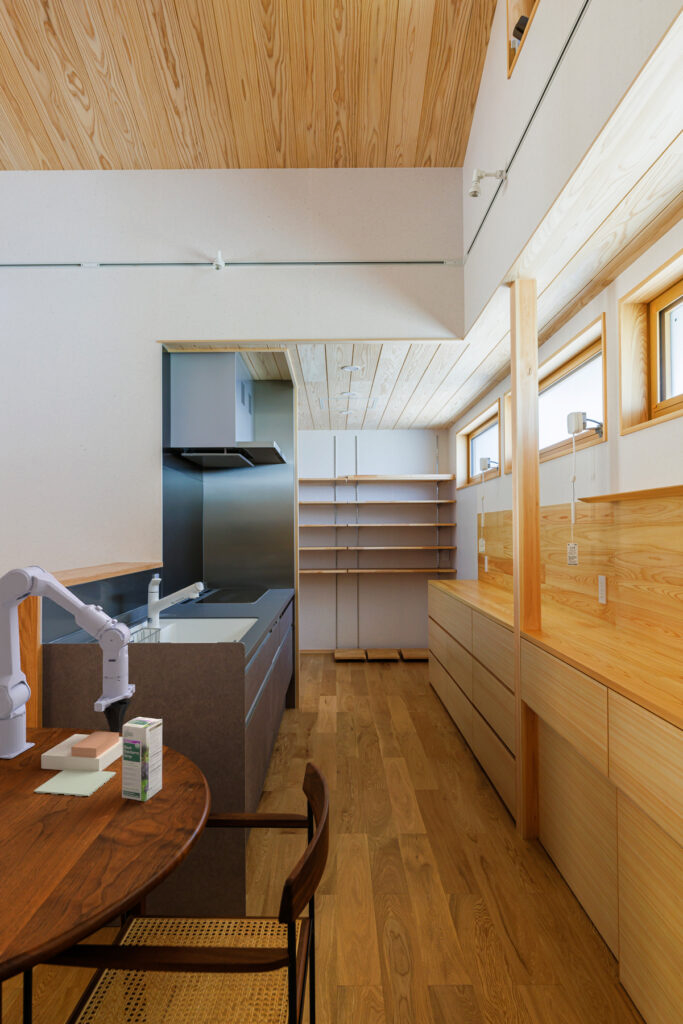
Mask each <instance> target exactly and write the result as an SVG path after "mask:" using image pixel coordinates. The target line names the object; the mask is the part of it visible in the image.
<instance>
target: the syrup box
mask: <svg viewBox="0 0 683 1024" xmlns="http://www.w3.org/2000/svg"><path fill="white" fill-rule="evenodd" d="M121 731H122V733H121V734H122V736H121V737H122V755H121V757H122V759H121V763H122V767H121V768H122V769H121V770H122V771H121V773H122V776H121V777H122V779H121V782H122V785H121V789H122V790H121V797H122V799H129V800H135V801H141V802H144V803H146V802H147V801H148V800H150V798H152V797H153V796H155V795H156V794H158V793H159V791H161V790H162V789H163V718H152V717H142V716H138V717H136V718H135V717H134V718H132V719H131V720H129V721H127V722H126V723H123V725H122V728H121Z"/></svg>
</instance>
